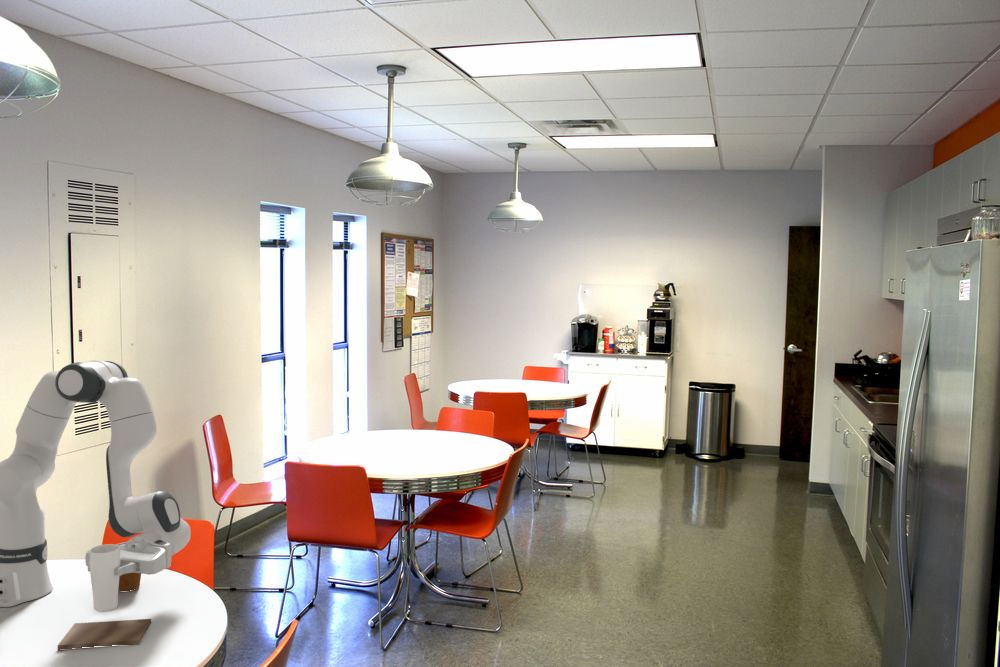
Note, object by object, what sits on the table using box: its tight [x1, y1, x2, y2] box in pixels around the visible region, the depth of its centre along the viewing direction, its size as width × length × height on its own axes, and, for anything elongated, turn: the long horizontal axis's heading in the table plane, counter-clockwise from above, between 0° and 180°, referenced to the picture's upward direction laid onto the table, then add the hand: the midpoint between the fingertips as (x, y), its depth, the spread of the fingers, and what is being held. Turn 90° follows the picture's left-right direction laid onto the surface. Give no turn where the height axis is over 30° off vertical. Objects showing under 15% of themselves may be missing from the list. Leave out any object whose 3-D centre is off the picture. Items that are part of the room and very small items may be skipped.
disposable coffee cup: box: [115, 541, 142, 592], centre depth 220 cm, size 10×10×12 cm
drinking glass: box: [89, 543, 121, 613], centre depth 190 cm, size 7×7×15 cm
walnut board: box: [57, 618, 152, 651], centre depth 191 cm, size 18×12×1 cm, turn 101°
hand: (103, 570), depth 189 cm, fingers closed on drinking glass, 6 cm apart
